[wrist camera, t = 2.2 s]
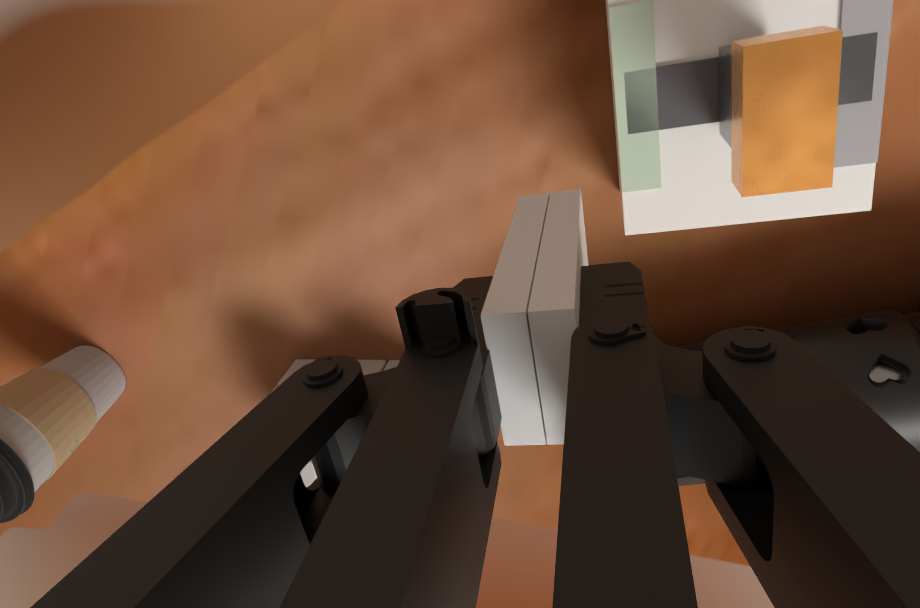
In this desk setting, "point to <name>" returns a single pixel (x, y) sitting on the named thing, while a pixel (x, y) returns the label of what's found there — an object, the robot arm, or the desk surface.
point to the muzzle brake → (866, 364)
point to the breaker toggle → (781, 109)
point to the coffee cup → (50, 419)
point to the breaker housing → (697, 108)
